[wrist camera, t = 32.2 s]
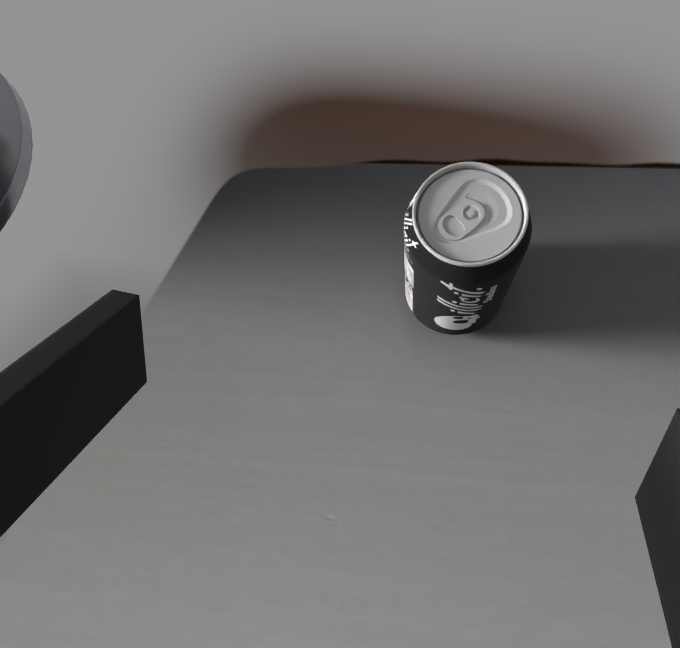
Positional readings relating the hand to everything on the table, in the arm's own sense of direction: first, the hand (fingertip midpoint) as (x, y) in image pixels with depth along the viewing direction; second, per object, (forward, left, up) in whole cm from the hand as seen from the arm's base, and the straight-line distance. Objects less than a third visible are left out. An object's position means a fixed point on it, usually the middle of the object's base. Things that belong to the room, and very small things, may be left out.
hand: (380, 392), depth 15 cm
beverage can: (-5, +11, -25) cm, 28 cm away
